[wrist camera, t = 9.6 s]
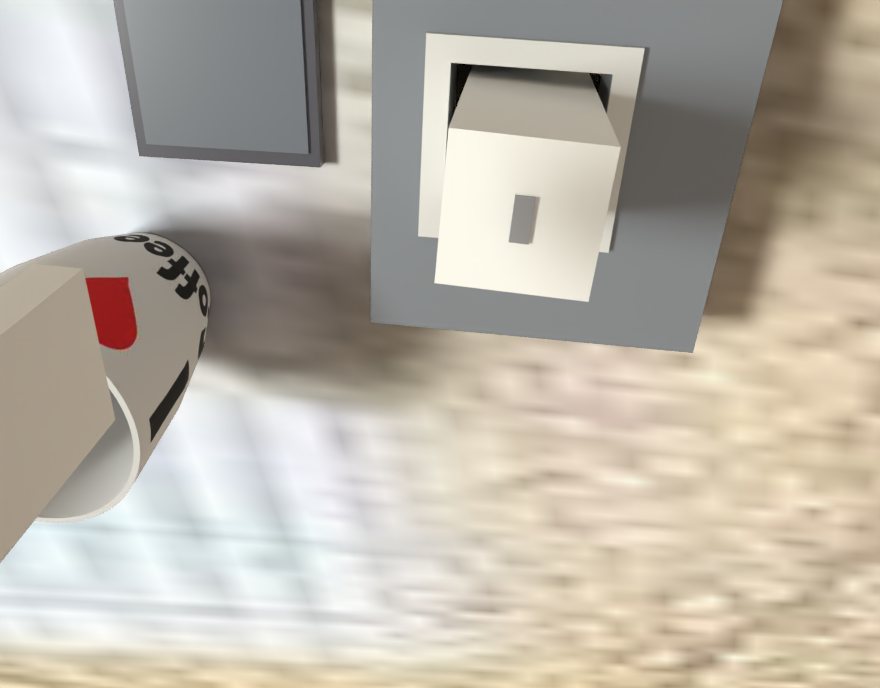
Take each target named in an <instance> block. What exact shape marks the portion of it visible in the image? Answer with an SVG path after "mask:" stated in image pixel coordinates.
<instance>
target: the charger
mask: <svg viewBox="0 0 880 688" xmlns="http://www.w3.org/2000/svg"><path fill="white" fill-rule="evenodd" d="M620 148H621V147H620V144H619V142H618V140H617V137H616V135H615V133H614V130H613V128H612V126H611V123H610V121H609V119H608V116H607V114H606V112H605V109H604V107H603V105H602V102H601V100H600V98H599V95H598V93H597V91H596V88H595V86H594V84H593V81H592V79H591V77H590V74H589V73H587V72H573V71H559V70H545V69H531V68H517V67H504V66H490V65H476V64H473V65H472V68H471V70H470V73H469V76H468V78H467V81H466V83H465V86H464V89H463V91H462V94H461V97H460V99H459V102H458V104H457V107H456V110H455V112H454V115H453V118H452V120H451V123H450V125H449V129H448V140H447V151H446V162H445V173H444V184H443V194H442V205H441V216H440V227H439V238H438V249H437V260H436V271H435V282H434V283H438V284H446V285H454V286H462V287H471V288H479V289H487V290H495V291H503V292H511V293H520V294H528V295H536V296H544V297H552V298H560V299H569V300H577V301H585V302H589V297H590V292H591V287H592V282H593V278H594V273H595V268H596V263H597V259H598V254H599V249H600V244H601V239H602V235H603V230H604V225H605V220H606V215H607V211H608V206H609V201H610V196H611V191H612V187H613V182H614V177H615V172H616V168H617V163H618V158H619V153H620Z"/></svg>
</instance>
